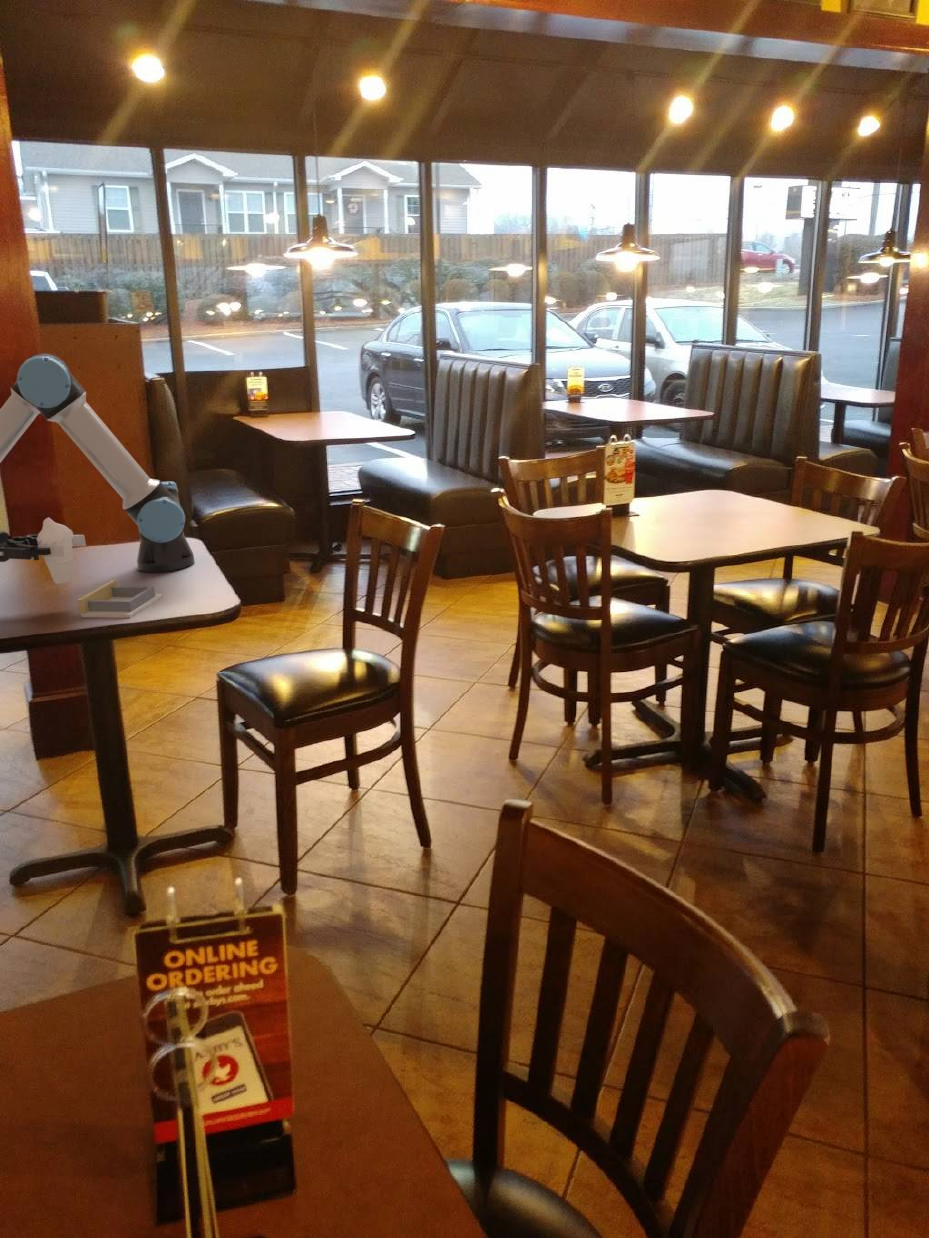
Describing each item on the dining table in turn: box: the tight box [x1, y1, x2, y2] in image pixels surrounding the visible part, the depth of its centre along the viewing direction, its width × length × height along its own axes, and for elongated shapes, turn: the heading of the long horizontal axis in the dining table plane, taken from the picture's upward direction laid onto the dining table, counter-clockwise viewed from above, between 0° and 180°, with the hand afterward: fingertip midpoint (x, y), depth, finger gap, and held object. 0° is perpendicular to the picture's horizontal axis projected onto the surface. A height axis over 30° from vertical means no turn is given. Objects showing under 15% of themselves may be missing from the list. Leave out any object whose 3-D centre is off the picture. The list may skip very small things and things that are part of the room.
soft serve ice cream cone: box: [36, 516, 75, 585], centre depth 245 cm, size 8×8×16 cm
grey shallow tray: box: [77, 579, 163, 619], centre depth 246 cm, size 13×16×4 cm
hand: (74, 545), depth 243 cm, fingers closed on soft serve ice cream cone, 8 cm apart
